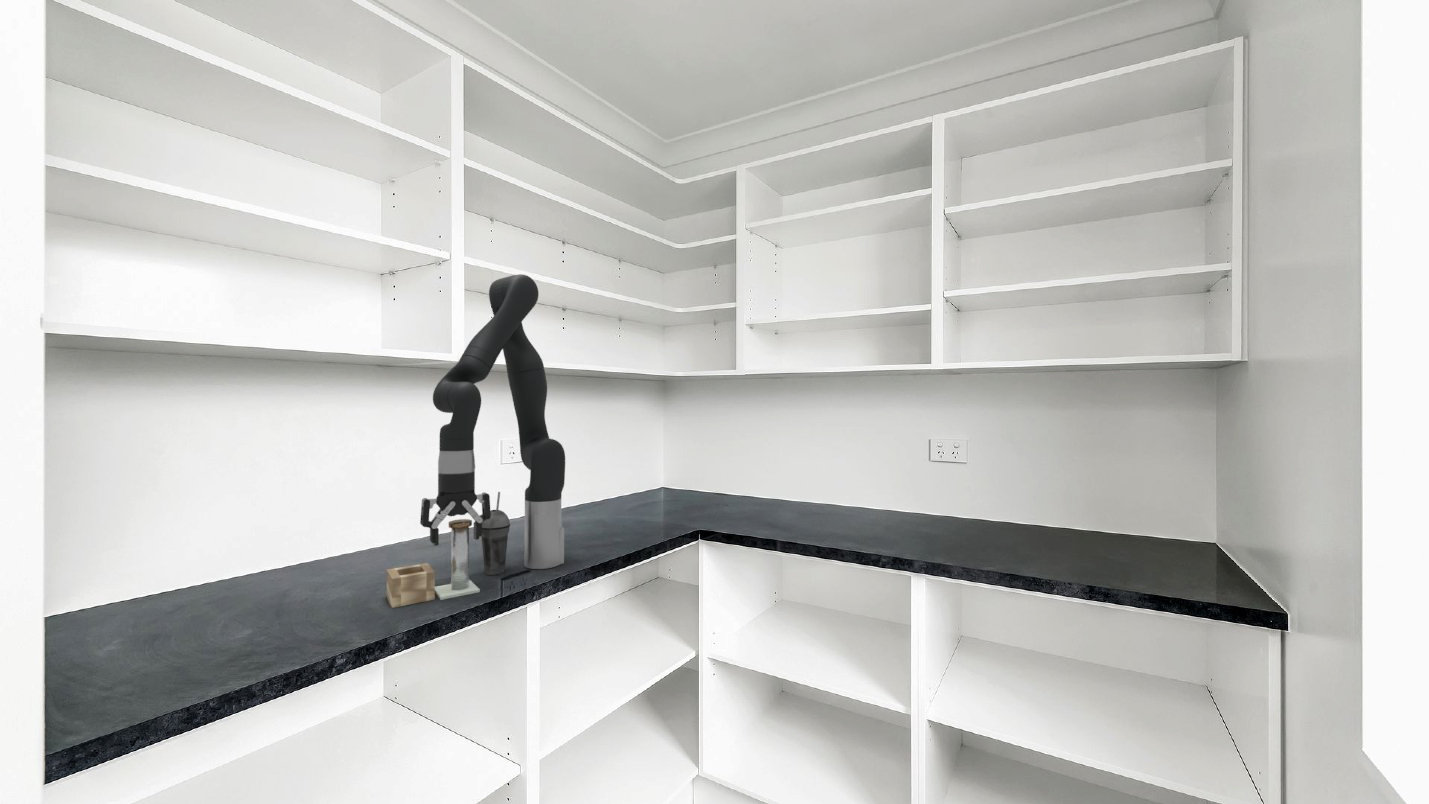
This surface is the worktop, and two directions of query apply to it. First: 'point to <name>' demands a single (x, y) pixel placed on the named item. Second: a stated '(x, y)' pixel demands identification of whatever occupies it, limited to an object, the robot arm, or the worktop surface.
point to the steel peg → (460, 553)
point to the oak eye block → (410, 585)
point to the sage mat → (455, 591)
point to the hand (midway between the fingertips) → (456, 541)
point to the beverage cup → (495, 541)
